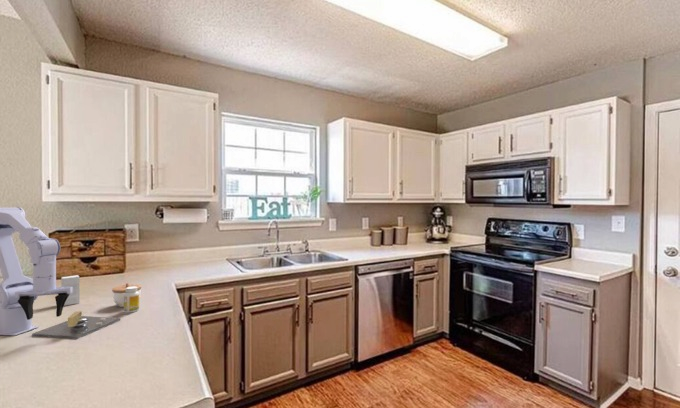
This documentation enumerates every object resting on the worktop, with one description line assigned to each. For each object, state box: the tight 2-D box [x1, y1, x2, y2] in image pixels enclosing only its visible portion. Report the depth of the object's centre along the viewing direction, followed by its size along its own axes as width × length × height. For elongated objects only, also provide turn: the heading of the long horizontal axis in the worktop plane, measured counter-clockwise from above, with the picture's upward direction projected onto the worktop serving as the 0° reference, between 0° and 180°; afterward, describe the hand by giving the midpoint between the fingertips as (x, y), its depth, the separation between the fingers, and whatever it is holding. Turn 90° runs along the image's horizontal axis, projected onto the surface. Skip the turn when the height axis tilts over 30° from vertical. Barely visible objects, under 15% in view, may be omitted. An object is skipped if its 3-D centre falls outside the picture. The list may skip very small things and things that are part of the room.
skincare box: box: [60, 274, 81, 306], centre depth 149 cm, size 6×4×12 cm
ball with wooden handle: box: [67, 310, 88, 327], centre depth 117 cm, size 11×5×4 cm, turn 22°
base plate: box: [31, 315, 121, 340], centre depth 120 cm, size 17×18×2 cm
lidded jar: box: [111, 283, 142, 308], centre depth 147 cm, size 11×11×9 cm
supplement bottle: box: [123, 286, 140, 314], centre depth 139 cm, size 5×5×10 cm
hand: (44, 317), depth 111 cm, fingers open, 7 cm apart
